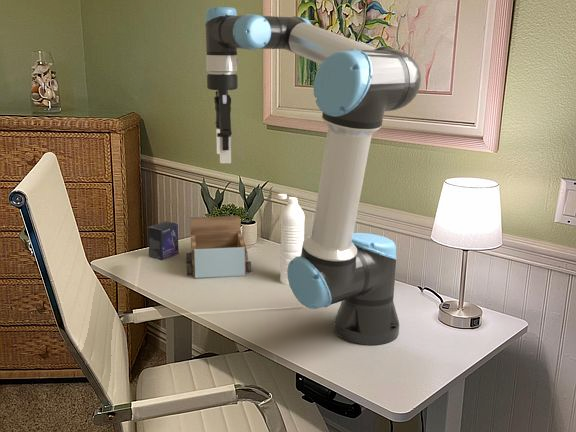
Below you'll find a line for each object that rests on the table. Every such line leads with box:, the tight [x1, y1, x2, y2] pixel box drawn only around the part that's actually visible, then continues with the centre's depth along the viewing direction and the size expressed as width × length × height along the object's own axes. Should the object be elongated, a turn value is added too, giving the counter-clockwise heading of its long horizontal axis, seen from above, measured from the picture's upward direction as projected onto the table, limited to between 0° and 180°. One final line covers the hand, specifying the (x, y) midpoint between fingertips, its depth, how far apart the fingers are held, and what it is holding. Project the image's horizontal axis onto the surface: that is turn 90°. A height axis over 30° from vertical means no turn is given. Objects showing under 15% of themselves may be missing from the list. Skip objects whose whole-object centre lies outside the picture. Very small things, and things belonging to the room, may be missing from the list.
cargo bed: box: [185, 215, 252, 278], centre depth 184 cm, size 19×18×13 cm
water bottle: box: [277, 193, 306, 286], centre depth 171 cm, size 9×6×25 cm
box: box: [147, 221, 180, 261], centre depth 192 cm, size 8×6×11 cm
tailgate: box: [193, 247, 247, 280], centre depth 175 cm, size 1×14×9 cm, turn 100°
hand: (223, 158), depth 159 cm, fingers open, 13 cm apart
